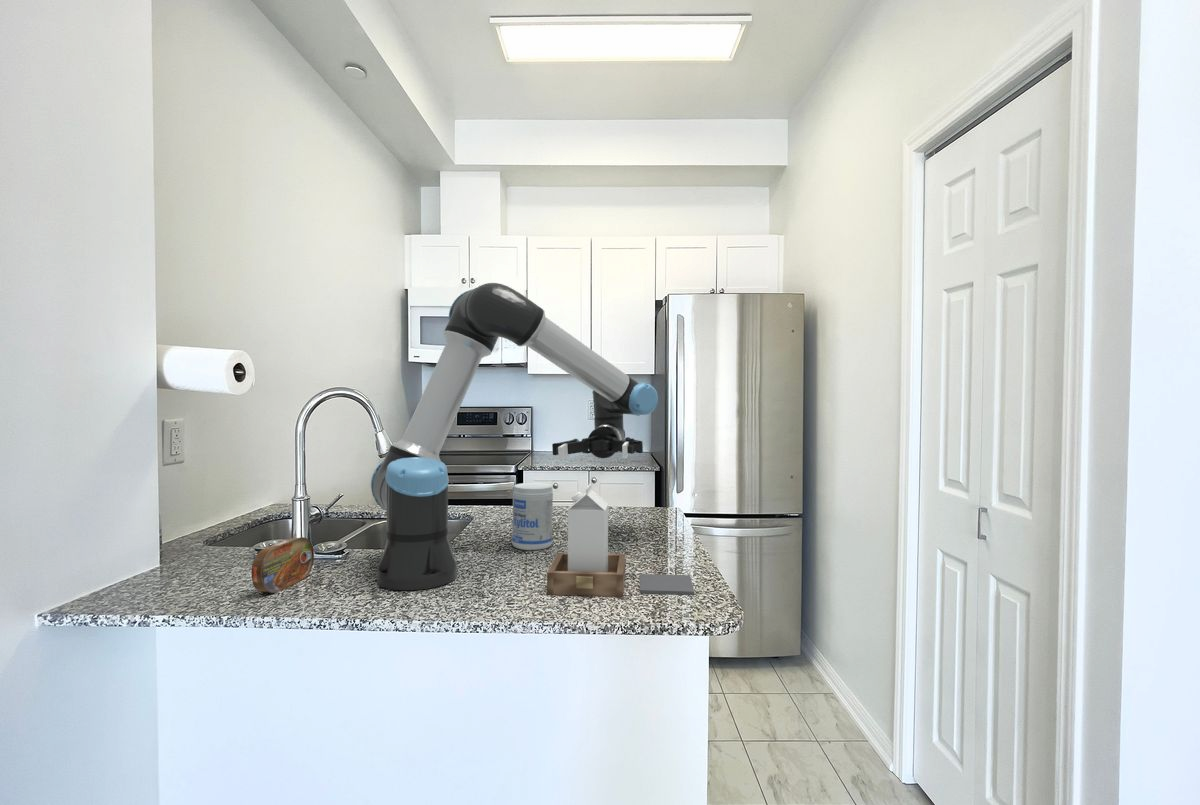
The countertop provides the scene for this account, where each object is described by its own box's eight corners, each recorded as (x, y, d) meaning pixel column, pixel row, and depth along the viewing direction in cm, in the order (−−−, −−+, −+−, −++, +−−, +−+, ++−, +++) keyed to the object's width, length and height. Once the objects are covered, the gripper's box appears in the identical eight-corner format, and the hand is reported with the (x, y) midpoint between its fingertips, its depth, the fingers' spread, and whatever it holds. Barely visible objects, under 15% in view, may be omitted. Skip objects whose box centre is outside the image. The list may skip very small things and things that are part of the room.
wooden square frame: (546, 595, 111) (546, 573, 111) (557, 571, 125) (557, 552, 125) (622, 597, 110) (623, 575, 110) (625, 573, 124) (625, 554, 124)
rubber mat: (639, 593, 112) (639, 590, 112) (640, 576, 122) (640, 573, 122) (694, 594, 111) (694, 591, 111) (690, 578, 121) (690, 575, 121)
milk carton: (608, 578, 121) (608, 483, 121) (604, 590, 114) (605, 489, 113) (572, 577, 122) (573, 482, 121) (567, 588, 115) (567, 488, 114)
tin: (263, 599, 108) (263, 552, 108) (247, 598, 109) (247, 551, 109) (315, 574, 123) (315, 533, 123) (301, 573, 124) (301, 532, 123)
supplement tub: (508, 551, 141) (508, 488, 141) (515, 541, 151) (516, 482, 150) (550, 551, 141) (550, 488, 141) (554, 541, 150) (554, 482, 150)
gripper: (656, 455, 146) (652, 469, 125) (555, 457, 150) (534, 472, 129) (655, 424, 146) (650, 433, 125) (553, 427, 149) (533, 436, 128)
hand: (591, 452), depth 127 cm, fingers open, 13 cm apart
